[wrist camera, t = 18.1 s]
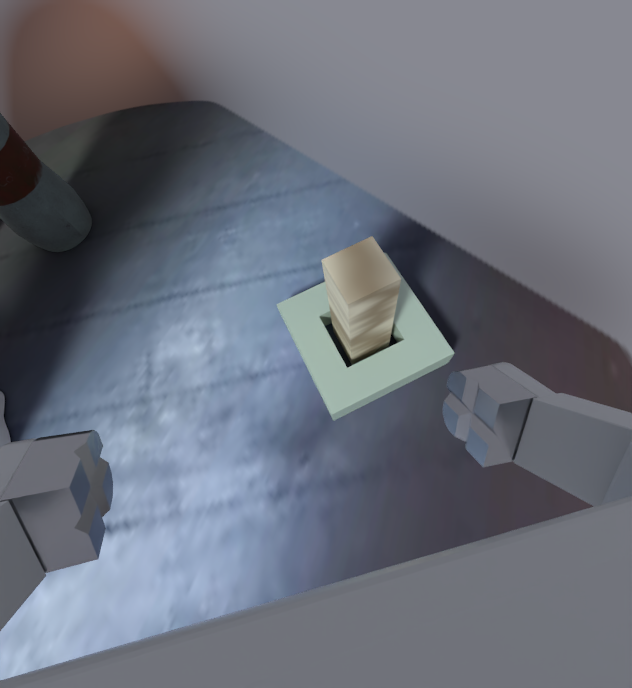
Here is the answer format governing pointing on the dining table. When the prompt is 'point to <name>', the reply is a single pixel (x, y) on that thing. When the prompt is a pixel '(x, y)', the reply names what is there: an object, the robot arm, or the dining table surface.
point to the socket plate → (375, 371)
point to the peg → (361, 298)
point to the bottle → (38, 198)
